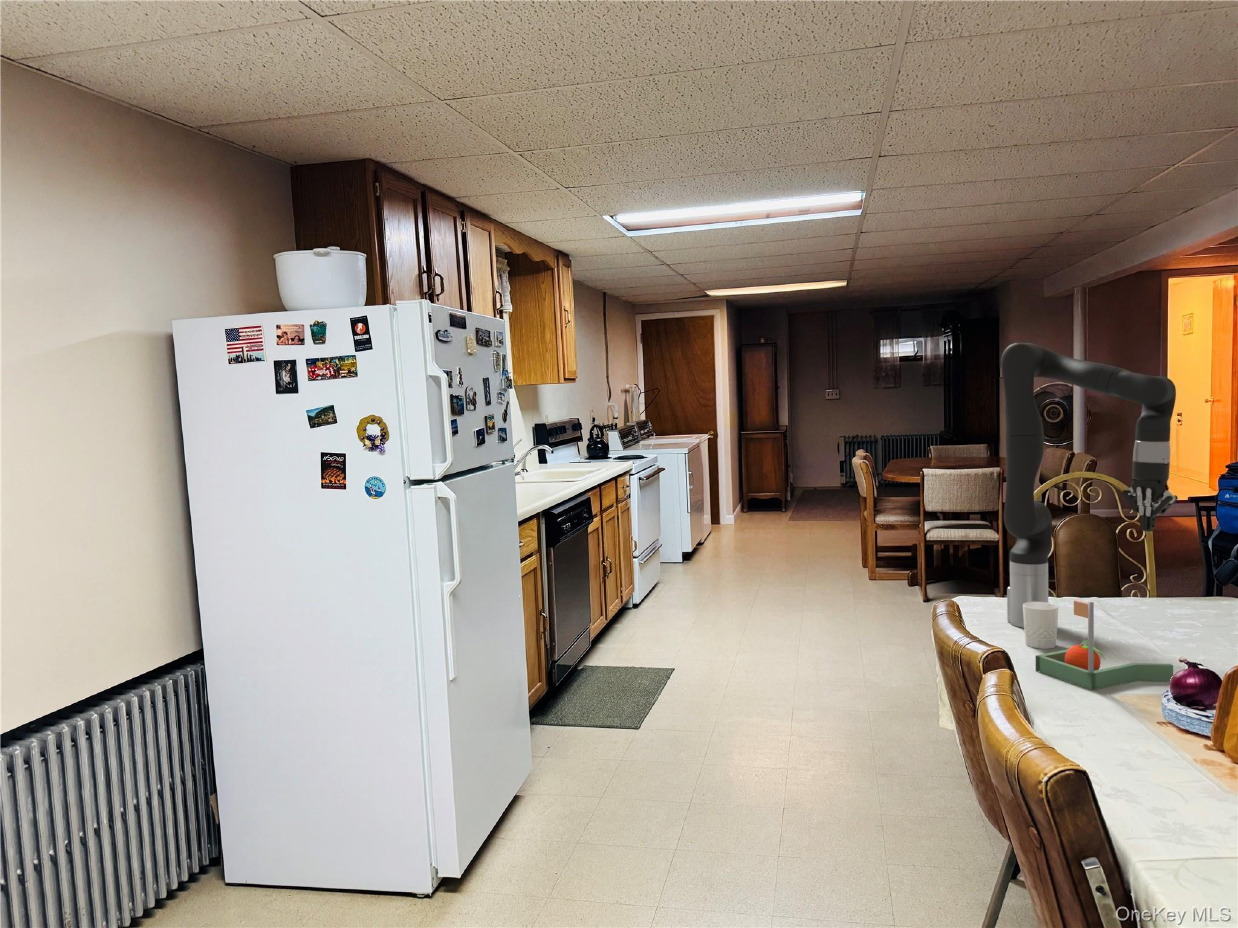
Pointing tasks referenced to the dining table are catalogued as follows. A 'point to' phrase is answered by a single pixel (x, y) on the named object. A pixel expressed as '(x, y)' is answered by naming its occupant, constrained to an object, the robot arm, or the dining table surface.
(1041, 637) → the white cup
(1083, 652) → the clementine
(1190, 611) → the dining table surface
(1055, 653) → the putting stall
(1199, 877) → the dining table surface
